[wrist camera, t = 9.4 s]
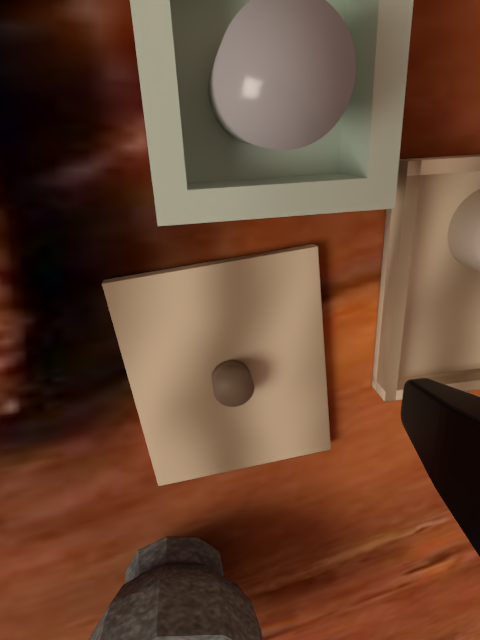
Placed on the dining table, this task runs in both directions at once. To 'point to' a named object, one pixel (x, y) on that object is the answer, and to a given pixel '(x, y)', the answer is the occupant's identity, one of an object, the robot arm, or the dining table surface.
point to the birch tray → (427, 282)
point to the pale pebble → (466, 232)
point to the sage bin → (254, 161)
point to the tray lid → (225, 361)
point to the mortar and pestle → (178, 597)
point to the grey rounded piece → (282, 73)
